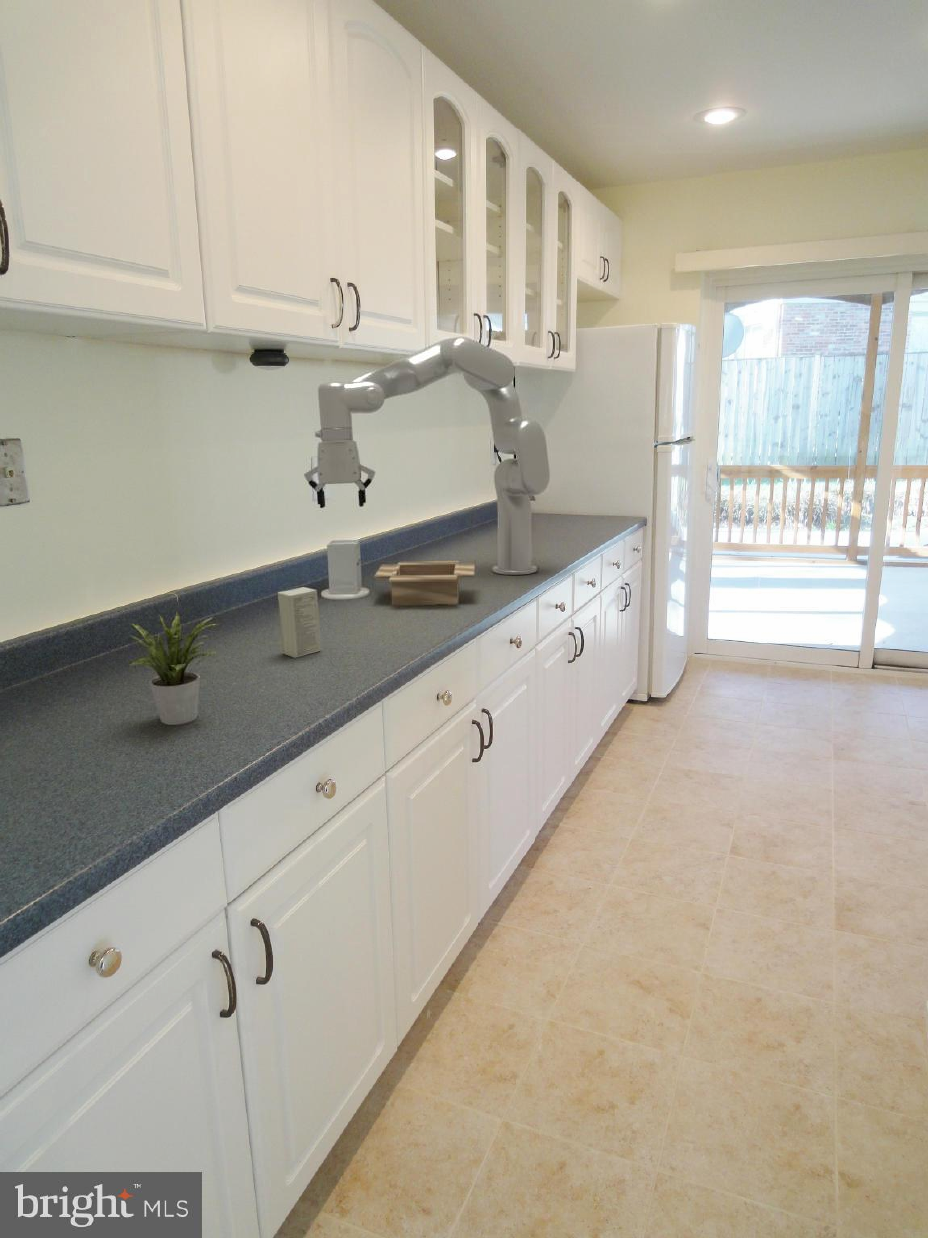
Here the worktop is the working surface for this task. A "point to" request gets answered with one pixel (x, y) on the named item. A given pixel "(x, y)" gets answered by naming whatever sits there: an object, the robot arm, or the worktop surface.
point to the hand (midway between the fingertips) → (342, 506)
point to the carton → (425, 581)
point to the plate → (361, 593)
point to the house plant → (174, 672)
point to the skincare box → (299, 621)
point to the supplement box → (344, 566)
